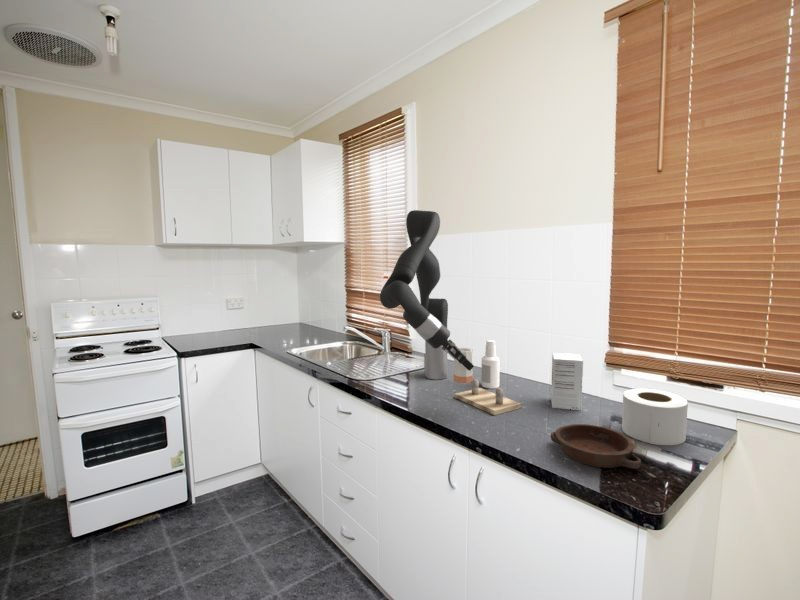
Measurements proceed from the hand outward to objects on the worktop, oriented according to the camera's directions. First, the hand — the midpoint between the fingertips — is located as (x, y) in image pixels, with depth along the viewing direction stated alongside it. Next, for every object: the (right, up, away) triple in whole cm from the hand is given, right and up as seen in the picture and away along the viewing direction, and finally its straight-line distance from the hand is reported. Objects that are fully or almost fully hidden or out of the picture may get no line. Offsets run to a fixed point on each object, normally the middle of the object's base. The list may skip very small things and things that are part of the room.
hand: (468, 365), depth 133 cm
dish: (+27, -19, -28) cm, 43 cm away
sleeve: (-2, -5, 0) cm, 5 cm away
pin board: (+8, -15, +10) cm, 20 cm away
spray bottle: (+13, -13, +29) cm, 34 cm away
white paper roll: (+50, -17, -16) cm, 55 cm away
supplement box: (+34, -15, +8) cm, 38 cm away
